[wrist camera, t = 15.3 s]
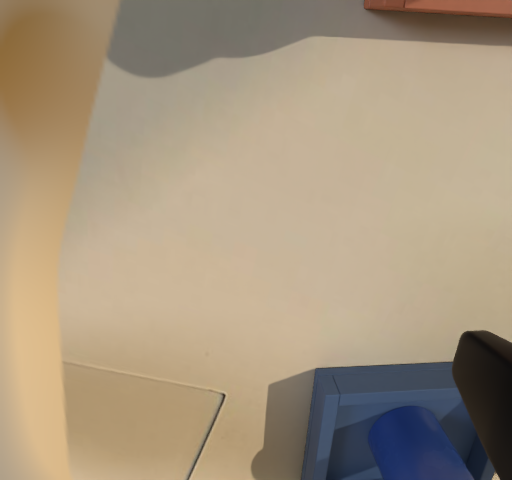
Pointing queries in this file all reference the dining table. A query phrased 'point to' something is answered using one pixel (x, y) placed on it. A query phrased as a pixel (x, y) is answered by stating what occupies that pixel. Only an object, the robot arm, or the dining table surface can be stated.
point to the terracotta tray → (446, 6)
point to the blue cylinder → (414, 447)
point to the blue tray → (375, 406)
